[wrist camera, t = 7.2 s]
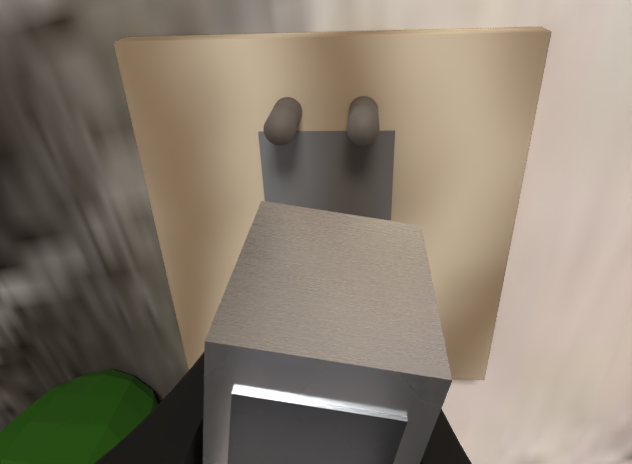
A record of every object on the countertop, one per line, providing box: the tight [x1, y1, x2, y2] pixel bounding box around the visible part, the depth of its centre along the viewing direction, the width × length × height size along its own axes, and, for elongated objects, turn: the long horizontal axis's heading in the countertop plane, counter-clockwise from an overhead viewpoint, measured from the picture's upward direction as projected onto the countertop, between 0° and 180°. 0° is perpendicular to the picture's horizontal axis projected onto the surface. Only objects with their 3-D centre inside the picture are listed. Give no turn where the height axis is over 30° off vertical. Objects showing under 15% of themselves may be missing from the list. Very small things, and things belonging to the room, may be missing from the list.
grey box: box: [203, 201, 452, 464], centre depth 12 cm, size 4×8×5 cm, turn 173°
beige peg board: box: [114, 27, 551, 380], centre depth 19 cm, size 14×15×3 cm
